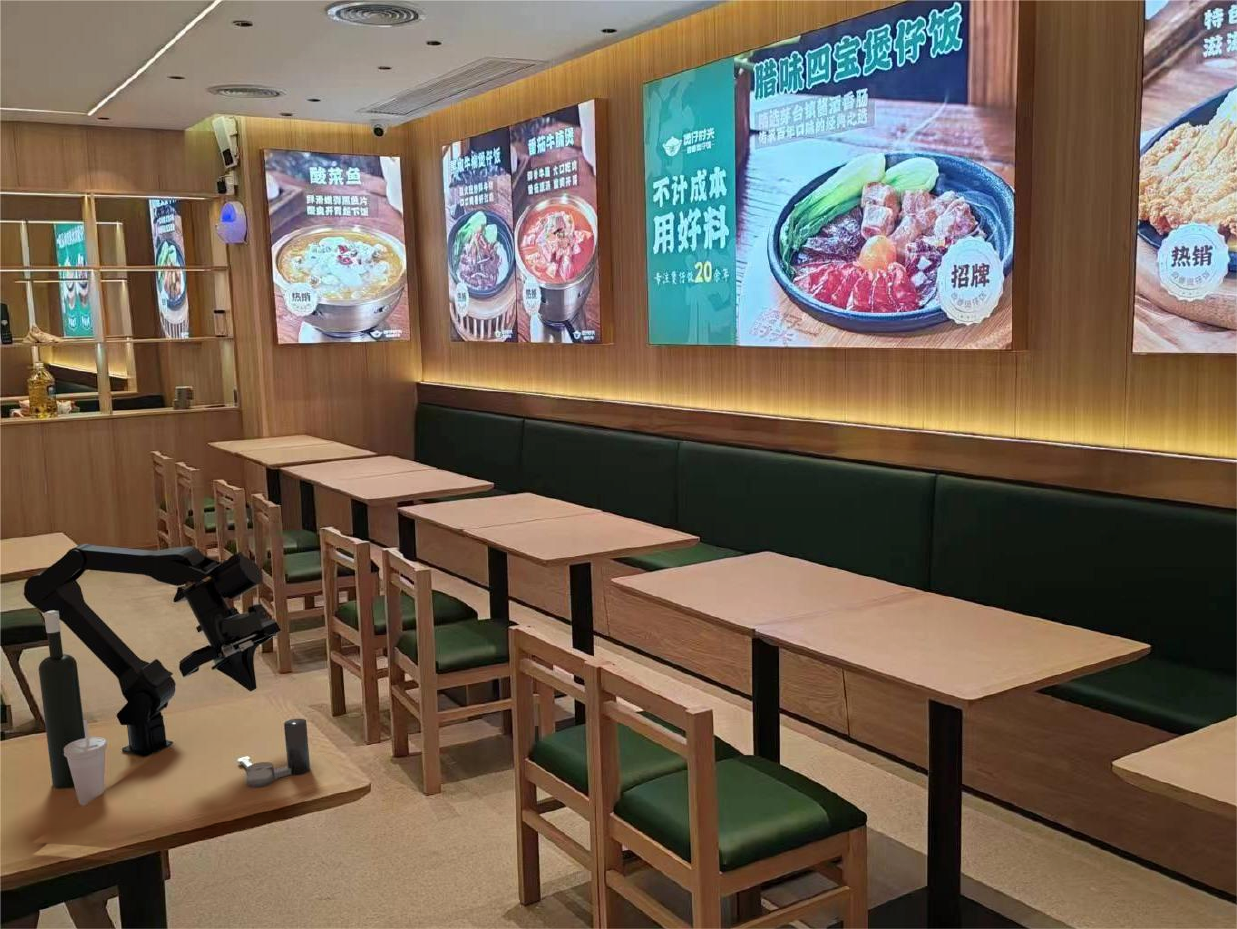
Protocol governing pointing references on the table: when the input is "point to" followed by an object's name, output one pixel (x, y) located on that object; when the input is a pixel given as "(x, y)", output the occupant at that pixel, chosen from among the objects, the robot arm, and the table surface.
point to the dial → (296, 757)
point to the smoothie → (87, 765)
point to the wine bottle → (60, 702)
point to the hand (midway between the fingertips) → (253, 690)
